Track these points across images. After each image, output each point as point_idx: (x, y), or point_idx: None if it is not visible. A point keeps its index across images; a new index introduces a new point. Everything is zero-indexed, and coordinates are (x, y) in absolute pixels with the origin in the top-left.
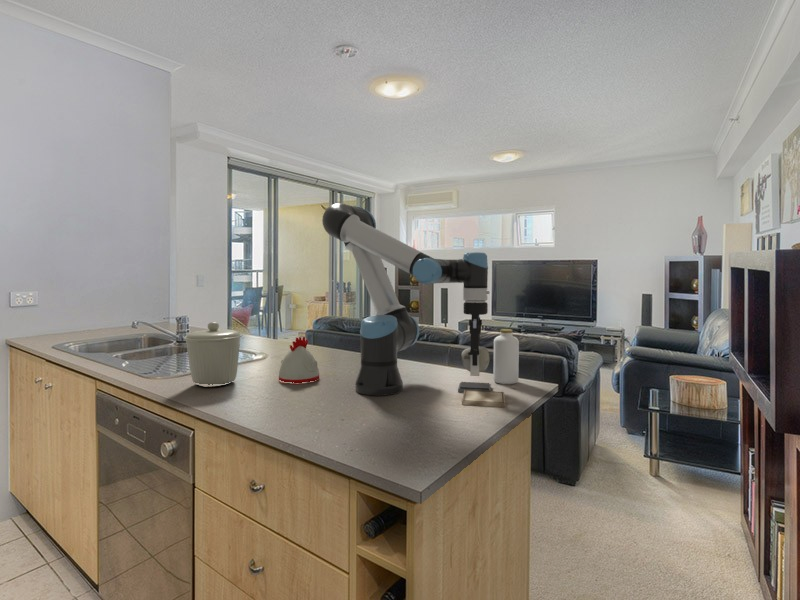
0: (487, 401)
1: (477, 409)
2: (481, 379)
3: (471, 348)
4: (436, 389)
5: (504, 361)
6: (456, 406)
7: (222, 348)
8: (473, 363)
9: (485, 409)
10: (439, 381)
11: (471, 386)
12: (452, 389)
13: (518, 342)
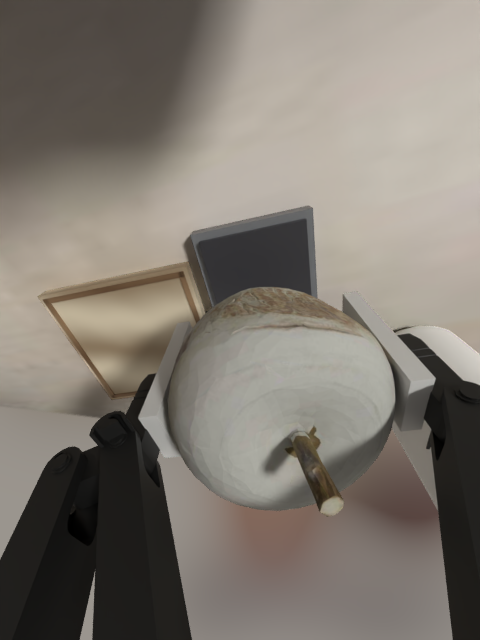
0: (92, 364)
1: (41, 342)
2: (455, 270)
3: (34, 505)
4: (188, 91)
5: (407, 437)
6: (12, 280)
7: None
8: (142, 389)
9: (59, 358)
10: (397, 22)
11: (232, 287)
12: (228, 189)
13: None
